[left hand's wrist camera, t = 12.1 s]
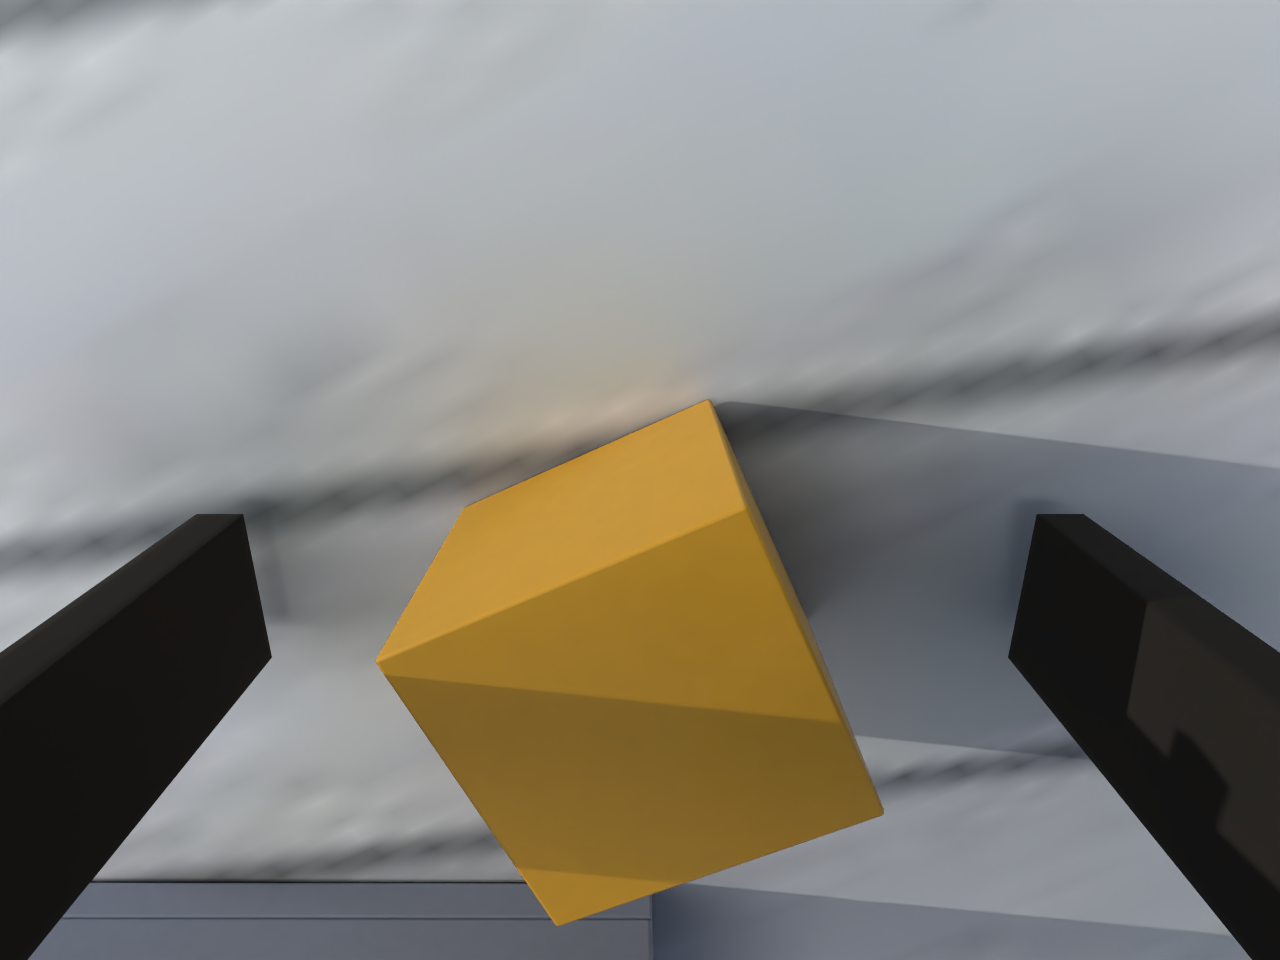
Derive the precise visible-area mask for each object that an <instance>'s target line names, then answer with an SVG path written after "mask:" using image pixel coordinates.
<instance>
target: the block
mask: <svg viewBox="0 0 1280 960" xmlns="http://www.w3.org/2000/svg"><path fill="white" fill-rule="evenodd" d="M376 663H377V665H378V666H379V668H380V669H381V671H382V672H383V674H384V675H385V676H386V678H387V679H388V681H389V682H390V684H391V685H392V687H393V688H394V690H395V691H396V693H397V694H398V695H399V697H400V698H401V700H402V701H403V703H404V704H405V706H406V707H407V709H408V710H409V712H410V713H411V714H412V716H413V717H414V719H415V720H416V722H417V723H418V725H419V726H420V728H421V729H422V731H423V732H424V733H425V735H426V736H427V738H428V739H429V741H430V742H431V744H432V745H433V747H434V748H435V750H436V751H437V752H438V754H439V755H440V757H441V758H442V760H443V761H444V763H445V764H446V766H447V767H448V769H449V770H450V771H451V773H452V774H453V776H454V777H455V779H456V780H457V782H458V783H459V785H460V786H461V788H462V789H463V790H464V792H465V793H466V795H467V796H468V798H469V799H470V801H471V802H472V804H473V805H474V807H475V808H476V809H477V811H478V812H479V814H480V815H481V817H482V818H483V820H484V821H485V823H486V824H487V826H488V827H489V828H490V830H491V831H492V833H493V834H494V836H495V837H496V839H497V840H498V842H499V843H500V845H501V846H502V847H503V849H504V850H505V852H506V853H507V855H508V856H509V858H510V859H511V861H512V862H513V864H514V865H515V866H516V868H517V869H518V871H519V872H520V874H521V875H522V877H523V878H524V880H525V881H526V883H527V884H528V885H529V887H530V888H531V890H532V891H533V893H534V894H535V896H536V897H537V899H538V900H539V902H540V903H541V904H542V906H543V907H544V909H545V910H546V912H547V913H548V915H549V916H550V918H551V919H552V921H553V922H554V923H555V925H556V926H561V925H564V924H567V923H570V922H573V921H576V920H579V919H582V918H585V917H588V916H590V915H593V914H596V913H599V912H602V911H605V910H608V909H611V908H614V907H617V906H620V905H622V904H625V903H628V902H631V901H634V900H637V899H640V898H643V897H646V896H649V895H652V894H654V893H657V892H660V891H663V890H666V889H669V888H672V887H675V886H678V885H681V884H684V883H687V882H689V881H692V880H695V879H698V878H701V877H704V876H707V875H710V874H713V873H716V872H719V871H721V870H724V869H727V868H730V867H733V866H736V865H739V864H742V863H745V862H748V861H751V860H753V859H756V858H759V857H762V856H765V855H768V854H771V853H774V852H777V851H780V850H783V849H786V848H788V847H791V846H794V845H797V844H800V843H803V842H806V841H809V840H812V839H815V838H818V837H820V836H823V835H826V834H829V833H832V832H835V831H838V830H841V829H844V828H847V827H850V826H852V825H855V824H858V823H861V822H864V821H867V820H870V819H873V818H876V817H879V816H882V815H883V814H884V809H883V807H882V804H881V802H880V799H879V797H878V794H877V792H876V789H875V787H874V784H873V782H872V779H871V777H870V774H869V772H868V769H867V767H866V764H865V762H864V759H863V757H862V754H861V752H860V749H859V747H858V744H857V742H856V739H855V737H854V734H853V732H852V729H851V727H850V724H849V722H848V719H847V717H846V714H845V712H844V709H843V707H842V704H841V702H840V699H839V697H838V694H837V692H836V689H835V687H834V684H833V682H832V679H831V677H830V675H829V672H828V670H827V667H826V665H825V662H824V660H823V657H822V655H821V652H820V650H819V647H818V645H817V642H816V640H815V637H814V635H813V632H812V630H811V627H810V625H809V622H808V620H807V617H806V615H805V613H804V611H803V608H802V606H801V604H800V602H799V599H798V597H797V595H796V593H795V590H794V588H793V586H792V583H791V581H790V579H789V577H788V574H787V572H786V570H785V568H784V565H783V563H782V561H781V558H780V556H779V554H778V552H777V549H776V547H775V545H774V543H773V540H772V538H771V536H770V533H769V531H768V529H767V527H766V524H765V522H764V520H763V518H762V515H761V513H760V511H759V508H758V506H757V504H756V502H755V499H754V497H753V495H752V493H751V490H750V488H749V486H748V484H747V481H746V479H745V477H744V474H743V472H742V470H741V468H740V465H739V463H738V461H737V459H736V456H735V454H734V452H733V449H732V447H731V445H730V443H729V440H728V438H727V436H726V434H725V431H724V429H723V427H722V424H721V422H720V420H719V418H718V415H717V413H716V411H715V409H714V406H713V404H712V402H711V401H710V400H706V401H703V402H701V403H699V404H697V405H694V406H692V407H690V408H688V409H685V410H683V411H681V412H679V413H676V414H674V415H672V416H669V417H667V418H665V419H663V420H660V421H658V422H656V423H654V424H651V425H649V426H647V427H645V428H642V429H640V430H638V431H636V432H633V433H631V434H629V435H627V436H624V437H622V438H620V439H618V440H615V441H613V442H611V443H609V444H606V445H604V446H602V447H600V448H597V449H595V450H593V451H591V452H588V453H586V454H584V455H582V456H579V457H577V458H575V459H573V460H570V461H568V462H566V463H564V464H561V465H559V466H557V467H555V468H552V469H550V470H548V471H546V472H543V473H541V474H539V475H537V476H534V477H532V478H530V479H528V480H525V481H523V482H521V483H519V484H516V485H514V486H512V487H510V488H507V489H505V490H503V491H501V492H498V493H496V494H494V495H492V496H489V497H487V498H485V499H483V500H480V501H478V502H476V503H474V504H471V505H469V506H467V507H465V508H464V509H463V510H462V512H461V514H460V515H459V517H458V519H457V521H456V522H455V524H454V526H453V527H452V529H451V531H450V533H449V534H448V536H447V538H446V540H445V541H444V543H443V545H442V546H441V548H440V550H439V552H438V553H437V555H436V557H435V559H434V560H433V562H432V564H431V565H430V567H429V569H428V571H427V572H426V574H425V576H424V578H423V579H422V581H421V583H420V584H419V586H418V588H417V590H416V591H415V593H414V595H413V597H412V598H411V600H410V602H409V603H408V605H407V607H406V609H405V610H404V612H403V614H402V616H401V617H400V619H399V621H398V622H397V624H396V626H395V628H394V629H393V631H392V633H391V635H390V636H389V638H388V640H387V641H386V643H385V645H384V647H383V648H382V650H381V652H380V653H379V655H378V657H377V659H376Z"/></svg>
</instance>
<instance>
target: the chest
mask: <svg viewBox="0 0 1280 960" xmlns="http://www.w3.org/2000/svg"><path fill="white" fill-rule="evenodd" d="M28 960H653V925H652V895H649V896H646V897H643V898H640V899H637V900H634V901H631V902H628V903H625V904H622V905H620V906H617V907H614V908H611V909H608V910H605V911H602V912H599V913H596V914H593V915H590V916H588V917H585V918H582V919H579V920H576V921H573V922H570V923H567V924H564V925H561V926H556V925H555V923H554V922H553V921H552V919H551V918H550V916H549V915H548V913H547V912H546V910H545V909H544V907H543V906H542V904H541V903H540V902H539V900H538V899H537V897H536V896H535V894H534V893H533V891H532V890H531V888H530V887H529V885H528V884H527V883H89V884H88V886H87V887H86V888H85V889H84V891H83V892H82V893H81V894H80V896H79V897H78V898H77V899H76V901H75V902H74V903H73V904H72V905H71V907H70V908H69V909H68V910H67V912H66V913H65V914H64V915H63V917H62V918H61V919H60V920H59V922H58V923H57V924H56V925H55V927H54V928H53V929H52V930H51V932H50V933H49V934H48V935H47V936H46V938H45V939H44V940H43V941H42V943H41V944H40V945H39V946H38V948H37V949H36V950H35V951H34V953H33V954H32V955H31V956H30V958H29V959H28Z"/></svg>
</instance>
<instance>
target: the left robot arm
mask: <svg viewBox="0 0 1280 960" xmlns="http://www.w3.org/2000/svg"><path fill="white" fill-rule="evenodd" d="M271 658H272V656H271V651H270V646H269V641H268V636H267V631H266V626H265V621H264V616H263V611H262V606H261V601H260V596H259V591H258V586H257V581H256V576H255V571H254V566H253V561H252V556H251V551H250V546H249V541H248V536H247V531H246V526H245V521H244V516H243V514H196V515H195V516H193V517H192V518H191V519H189V520H188V521H186V522H185V523H183V524H182V525H181V526H179V527H178V528H176V529H175V530H174V531H172V532H171V533H169V534H168V535H166V536H165V537H164V538H162V539H161V540H159V541H158V542H157V543H155V544H154V545H152V546H151V547H149V548H148V549H147V550H145V551H144V552H142V553H141V554H140V555H138V556H137V557H135V558H134V559H132V560H131V561H130V562H128V563H127V564H125V565H124V566H123V567H121V568H120V569H118V570H117V571H115V572H114V573H113V574H111V575H110V576H108V577H107V578H106V579H104V580H103V581H101V582H100V583H98V584H97V585H96V586H94V587H93V588H91V589H90V590H89V591H87V592H86V593H84V594H83V595H81V596H80V597H79V598H77V599H76V600H74V601H73V602H72V603H70V604H69V605H67V606H66V607H64V608H63V609H62V610H60V611H59V612H57V613H56V614H55V615H53V616H52V617H50V618H49V619H47V620H46V621H45V622H43V623H42V624H40V625H39V626H38V627H36V628H35V629H33V630H32V631H30V632H29V633H28V634H26V635H25V636H23V637H22V638H21V639H19V640H18V641H16V642H15V643H13V644H12V645H11V646H9V647H8V648H6V649H5V650H4V651H2V652H1V653H0V960H28V959H29V958H30V956H31V955H32V954H33V953H34V951H35V950H36V949H37V948H38V946H39V945H40V944H41V943H42V941H43V940H44V939H45V938H46V936H47V935H48V934H49V933H50V932H51V930H52V929H53V928H54V927H55V925H56V924H57V923H58V922H59V920H60V919H61V918H62V917H63V915H64V914H65V913H66V912H67V910H68V909H69V908H70V907H71V905H72V904H73V903H74V902H75V901H76V899H77V898H78V897H79V896H80V894H81V893H82V892H83V891H84V889H85V888H86V887H87V886H88V884H89V883H90V882H91V881H92V879H93V878H94V877H95V876H96V875H97V873H98V872H99V871H100V870H101V868H102V867H103V866H104V865H105V863H106V862H107V861H108V860H109V858H110V857H111V856H112V855H113V853H114V852H115V851H116V850H117V849H118V847H119V846H120V845H121V844H122V842H123V841H124V840H125V839H126V837H127V836H128V835H129V834H130V832H131V831H132V830H133V829H134V827H135V826H136V825H137V824H138V822H139V821H140V820H141V819H142V818H143V816H144V815H145V814H146V813H147V811H148V810H149V809H150V808H151V806H152V805H153V804H154V803H155V801H156V800H157V799H158V798H159V796H160V795H161V794H162V793H163V792H164V790H165V789H166V788H167V787H168V785H169V784H170V783H171V782H172V780H173V779H174V778H175V777H176V775H177V774H178V773H179V772H180V770H181V769H182V768H183V767H184V766H185V764H186V763H187V762H188V761H189V759H190V758H191V757H192V756H193V754H194V753H195V752H196V751H197V749H198V748H199V747H200V746H201V744H202V743H203V742H204V741H205V739H206V738H207V737H208V736H209V735H210V733H211V732H212V731H213V730H214V728H215V727H216V726H217V725H218V723H219V722H220V721H221V720H222V718H223V717H224V716H225V715H226V713H227V712H228V711H229V710H230V709H231V707H232V706H233V705H234V704H235V702H236V701H237V700H238V699H239V697H240V696H241V695H242V694H243V692H244V691H245V690H246V689H247V687H248V686H249V685H250V684H251V683H252V681H253V680H254V679H255V678H256V676H257V675H258V674H259V673H260V671H261V670H262V669H263V668H264V666H265V665H266V664H267V663H268V661H269V660H270V659H271ZM1008 658H1009V659H1010V660H1011V661H1012V663H1013V664H1014V665H1015V666H1016V668H1017V669H1018V670H1019V671H1020V673H1021V674H1022V675H1023V676H1024V678H1025V679H1026V680H1027V681H1028V683H1029V684H1030V685H1031V686H1032V687H1033V689H1034V690H1035V691H1036V692H1037V694H1038V695H1039V696H1040V697H1041V699H1042V700H1043V701H1044V702H1045V704H1046V705H1047V706H1048V707H1049V709H1050V710H1051V711H1052V712H1053V714H1054V715H1055V716H1056V717H1057V718H1058V720H1059V721H1060V722H1061V723H1062V725H1063V726H1064V727H1065V728H1066V730H1067V731H1068V732H1069V733H1070V735H1071V736H1072V737H1073V738H1074V740H1075V741H1076V742H1077V743H1078V744H1079V746H1080V747H1081V748H1082V749H1083V751H1084V752H1085V753H1086V754H1087V756H1088V757H1089V758H1090V759H1091V761H1092V762H1093V763H1094V764H1095V766H1096V767H1097V768H1098V769H1099V770H1100V772H1101V773H1102V774H1103V775H1104V777H1105V778H1106V779H1107V780H1108V782H1109V783H1110V784H1111V785H1112V787H1113V788H1114V789H1115V790H1116V792H1117V793H1118V794H1119V795H1120V797H1121V798H1122V799H1123V800H1124V801H1125V803H1126V804H1127V805H1128V806H1129V808H1130V809H1131V810H1132V811H1133V813H1134V814H1135V815H1136V816H1137V818H1138V819H1139V820H1140V821H1141V823H1142V824H1143V825H1144V826H1145V827H1146V829H1147V830H1148V831H1149V832H1150V834H1151V835H1152V836H1153V837H1154V839H1155V840H1156V841H1157V842H1158V844H1159V845H1160V846H1161V847H1162V849H1163V850H1164V851H1165V852H1166V854H1167V855H1168V856H1169V857H1170V858H1171V860H1172V861H1173V862H1174V863H1175V865H1176V866H1177V867H1178V868H1179V870H1180V871H1181V872H1182V873H1183V875H1184V876H1185V877H1186V878H1187V880H1188V881H1189V882H1190V883H1191V884H1192V886H1193V887H1194V888H1195V889H1196V891H1197V892H1198V893H1199V894H1200V896H1201V897H1202V898H1203V899H1204V901H1205V902H1206V903H1207V904H1208V906H1209V907H1210V908H1211V909H1212V910H1213V912H1214V913H1215V914H1216V915H1217V917H1218V918H1219V919H1220V920H1221V922H1222V923H1223V924H1224V925H1225V927H1226V928H1227V929H1228V930H1229V932H1230V933H1231V934H1232V935H1233V937H1234V938H1235V939H1236V940H1237V941H1238V943H1239V944H1240V945H1241V946H1242V948H1243V949H1244V950H1245V951H1246V953H1247V954H1248V955H1249V956H1250V958H1251V959H1252V960H1280V653H1279V652H1278V651H1276V650H1275V649H1274V648H1272V647H1271V646H1269V645H1268V644H1266V643H1265V642H1264V641H1262V640H1261V639H1259V638H1258V637H1257V636H1255V635H1254V634H1252V633H1251V632H1249V631H1248V630H1247V629H1245V628H1244V627H1242V626H1241V625H1240V624H1238V623H1237V622H1235V621H1234V620H1232V619H1231V618H1230V617H1228V616H1227V615H1225V614H1224V613H1223V612H1221V611H1220V610H1218V609H1217V608H1215V607H1214V606H1213V605H1211V604H1210V603H1208V602H1207V601H1206V600H1204V599H1203V598H1201V597H1200V596H1199V595H1197V594H1196V593H1194V592H1193V591H1191V590H1190V589H1189V588H1187V587H1186V586H1184V585H1183V584H1182V583H1180V582H1179V581H1177V580H1176V579H1174V578H1173V577H1172V576H1170V575H1169V574H1167V573H1166V572H1165V571H1163V570H1162V569H1160V568H1159V567H1157V566H1156V565H1155V564H1153V563H1152V562H1150V561H1149V560H1148V559H1146V558H1145V557H1143V556H1142V555H1140V554H1139V553H1138V552H1136V551H1135V550H1133V549H1132V548H1131V547H1129V546H1128V545H1126V544H1125V543H1123V542H1122V541H1121V540H1119V539H1118V538H1116V537H1115V536H1114V535H1112V534H1111V533H1109V532H1108V531H1106V530H1105V529H1104V528H1102V527H1101V526H1099V525H1098V524H1097V523H1095V522H1094V521H1092V520H1091V519H1089V518H1088V517H1087V516H1085V515H1084V514H1037V516H1036V521H1035V526H1034V531H1033V536H1032V541H1031V546H1030V551H1029V556H1028V561H1027V566H1026V571H1025V576H1024V581H1023V586H1022V591H1021V596H1020V601H1019V606H1018V611H1017V616H1016V621H1015V626H1014V631H1013V636H1012V641H1011V646H1010V651H1009V656H1008Z"/></svg>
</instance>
